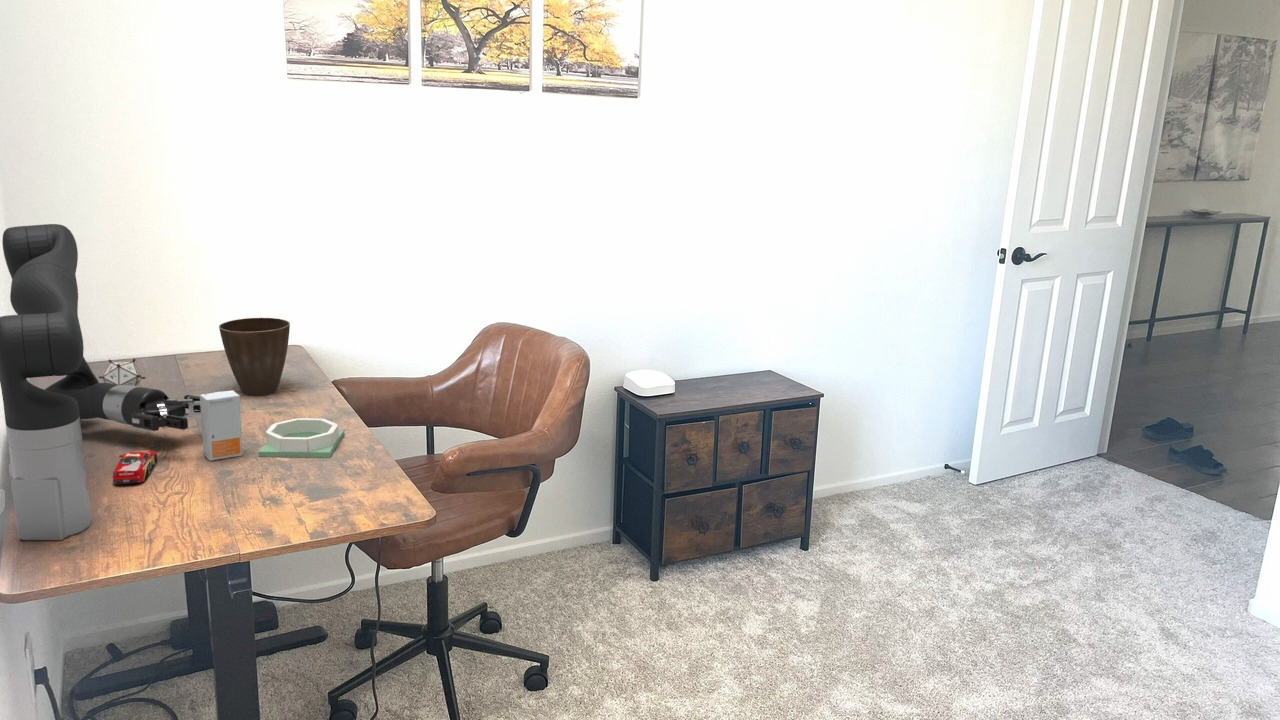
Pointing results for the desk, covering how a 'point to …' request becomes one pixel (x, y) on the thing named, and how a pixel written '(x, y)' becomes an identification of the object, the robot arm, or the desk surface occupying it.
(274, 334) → the plant pot
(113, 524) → the desk surface
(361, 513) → the desk surface
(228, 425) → the skincare box
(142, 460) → the race car
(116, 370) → the game die
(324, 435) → the octagonal rimmed tray
